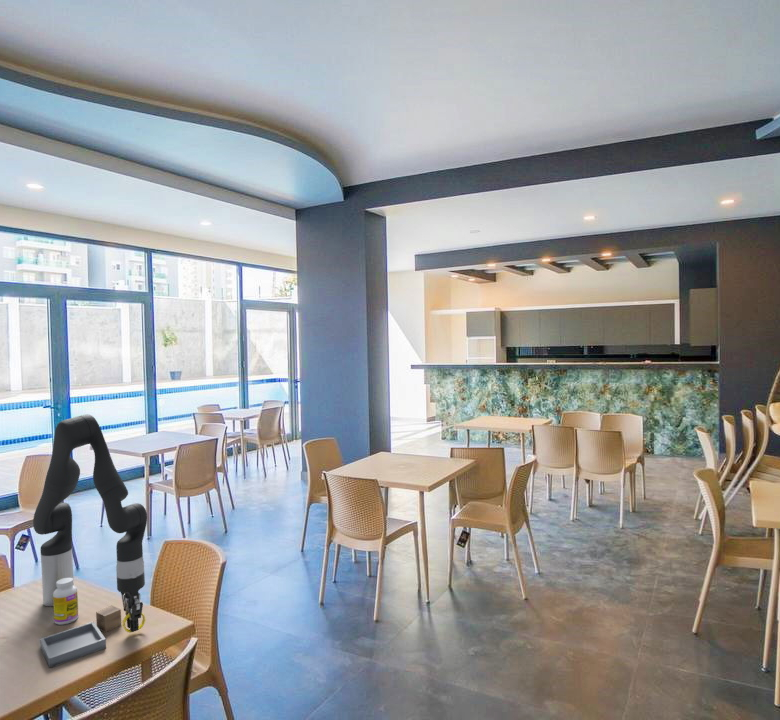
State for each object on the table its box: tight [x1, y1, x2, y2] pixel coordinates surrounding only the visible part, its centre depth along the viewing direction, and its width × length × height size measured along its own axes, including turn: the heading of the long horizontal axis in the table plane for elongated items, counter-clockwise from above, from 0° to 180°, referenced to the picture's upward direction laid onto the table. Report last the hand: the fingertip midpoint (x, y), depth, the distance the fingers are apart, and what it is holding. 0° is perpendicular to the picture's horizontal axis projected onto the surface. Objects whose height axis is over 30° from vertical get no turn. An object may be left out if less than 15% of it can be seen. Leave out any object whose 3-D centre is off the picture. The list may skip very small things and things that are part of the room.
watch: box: [122, 612, 146, 633], centre depth 164 cm, size 6×3×6 cm, turn 127°
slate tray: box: [39, 620, 107, 669], centre depth 157 cm, size 14×14×3 cm
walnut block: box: [95, 605, 122, 633], centre depth 169 cm, size 5×5×5 cm
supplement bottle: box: [53, 578, 79, 626], centre depth 174 cm, size 7×7×13 cm
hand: (133, 628), depth 164 cm, fingers closed on watch, 2 cm apart
